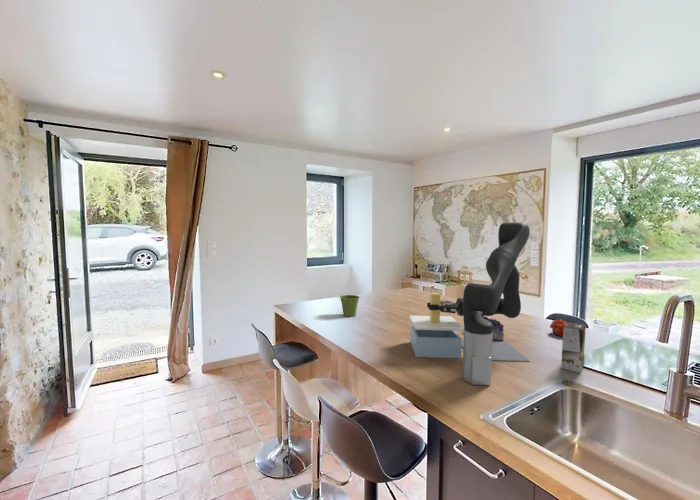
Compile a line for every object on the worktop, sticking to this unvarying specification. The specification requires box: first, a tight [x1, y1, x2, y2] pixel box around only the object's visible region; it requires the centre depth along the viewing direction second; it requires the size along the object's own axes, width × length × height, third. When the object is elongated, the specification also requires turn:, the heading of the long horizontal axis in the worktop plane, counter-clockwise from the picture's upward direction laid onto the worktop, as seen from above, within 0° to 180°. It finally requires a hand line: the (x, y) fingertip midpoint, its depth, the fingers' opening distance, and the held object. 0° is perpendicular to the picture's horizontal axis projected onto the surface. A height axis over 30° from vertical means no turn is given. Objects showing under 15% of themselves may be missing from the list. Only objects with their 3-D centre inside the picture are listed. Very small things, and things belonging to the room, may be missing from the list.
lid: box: [408, 292, 464, 332], centre depth 144 cm, size 19×19×13 cm
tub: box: [409, 324, 463, 359], centre depth 145 cm, size 18×18×8 cm
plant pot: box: [339, 294, 361, 318], centre depth 199 cm, size 12×12×11 cm
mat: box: [461, 340, 530, 363], centre depth 144 cm, size 22×22×1 cm
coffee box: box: [560, 321, 587, 373], centre depth 127 cm, size 9×6×16 cm
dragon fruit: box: [549, 318, 568, 338], centre depth 166 cm, size 8×8×12 cm
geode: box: [481, 316, 505, 342], centre depth 166 cm, size 20×12×10 cm, turn 22°
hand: (428, 306), depth 144 cm, fingers closed on lid, 3 cm apart
